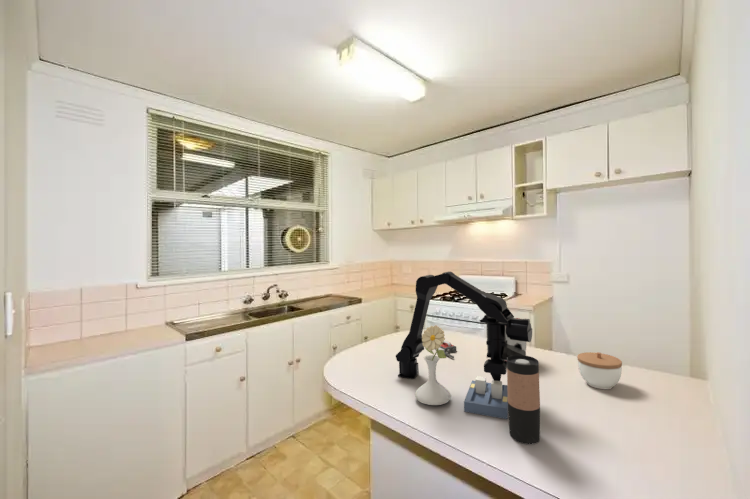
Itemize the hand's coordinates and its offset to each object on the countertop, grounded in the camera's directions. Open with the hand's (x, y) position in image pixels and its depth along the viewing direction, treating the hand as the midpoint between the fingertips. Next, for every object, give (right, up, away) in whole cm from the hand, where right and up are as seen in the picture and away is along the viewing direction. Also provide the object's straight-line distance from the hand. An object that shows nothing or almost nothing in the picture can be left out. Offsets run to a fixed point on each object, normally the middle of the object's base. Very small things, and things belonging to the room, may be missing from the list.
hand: (497, 385), depth 107 cm
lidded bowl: (+37, -3, +6) cm, 38 cm away
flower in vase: (-21, -5, -1) cm, 21 cm away
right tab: (-1, -3, -2) cm, 4 cm away
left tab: (-5, -3, +1) cm, 6 cm away
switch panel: (-4, -4, -3) cm, 7 cm away
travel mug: (-1, -5, -21) cm, 22 cm away
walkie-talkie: (-7, -4, +46) cm, 46 cm away
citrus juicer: (+16, -3, +32) cm, 36 cm away
